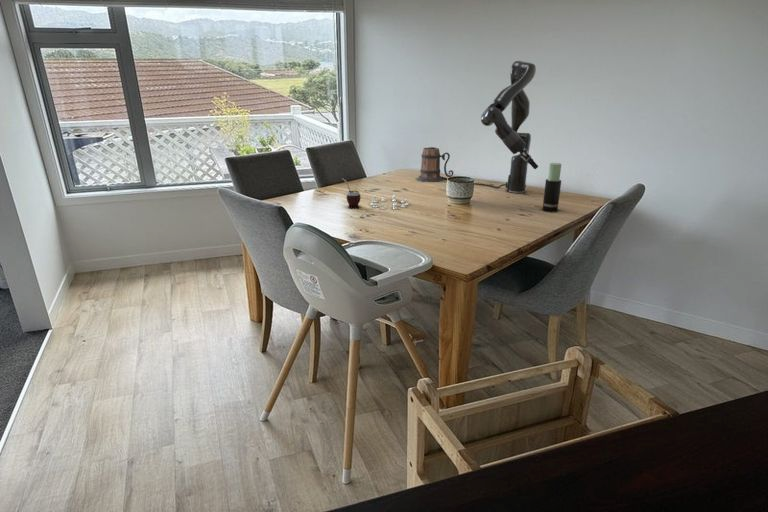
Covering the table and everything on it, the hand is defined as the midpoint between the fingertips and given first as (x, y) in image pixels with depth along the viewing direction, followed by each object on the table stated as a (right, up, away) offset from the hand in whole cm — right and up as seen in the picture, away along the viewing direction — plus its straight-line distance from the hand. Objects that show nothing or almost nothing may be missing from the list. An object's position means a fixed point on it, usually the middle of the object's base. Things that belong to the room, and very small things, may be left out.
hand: (535, 166), depth 230 cm
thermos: (+9, -21, +6) cm, 23 cm away
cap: (+9, -6, +1) cm, 11 cm away
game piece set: (-71, -17, +16) cm, 75 cm away
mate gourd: (-89, -19, +10) cm, 92 cm away
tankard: (-40, +6, +78) cm, 88 cm away
